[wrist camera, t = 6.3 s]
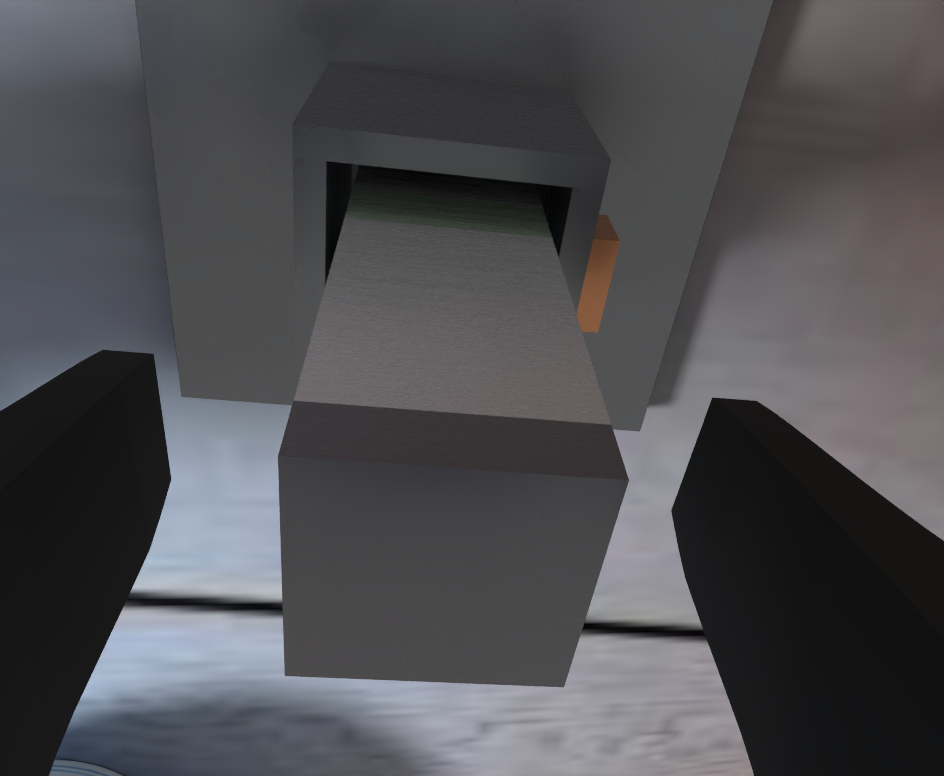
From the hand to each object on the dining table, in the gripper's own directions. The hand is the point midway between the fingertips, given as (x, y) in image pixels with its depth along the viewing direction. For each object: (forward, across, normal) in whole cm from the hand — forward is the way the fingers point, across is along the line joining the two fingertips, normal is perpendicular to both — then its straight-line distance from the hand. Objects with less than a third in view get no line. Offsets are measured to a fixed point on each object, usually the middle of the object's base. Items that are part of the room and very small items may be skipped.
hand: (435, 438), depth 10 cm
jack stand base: (+9, 0, 0) cm, 9 cm away
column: (+5, 0, -1) cm, 5 cm away
